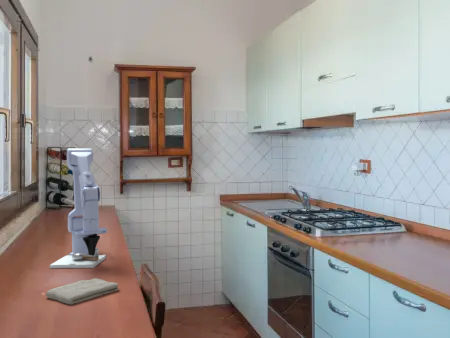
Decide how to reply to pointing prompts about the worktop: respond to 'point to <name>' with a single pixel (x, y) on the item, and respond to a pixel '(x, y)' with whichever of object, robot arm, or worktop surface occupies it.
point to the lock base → (76, 262)
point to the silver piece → (85, 256)
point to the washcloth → (81, 290)
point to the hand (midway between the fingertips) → (91, 255)
